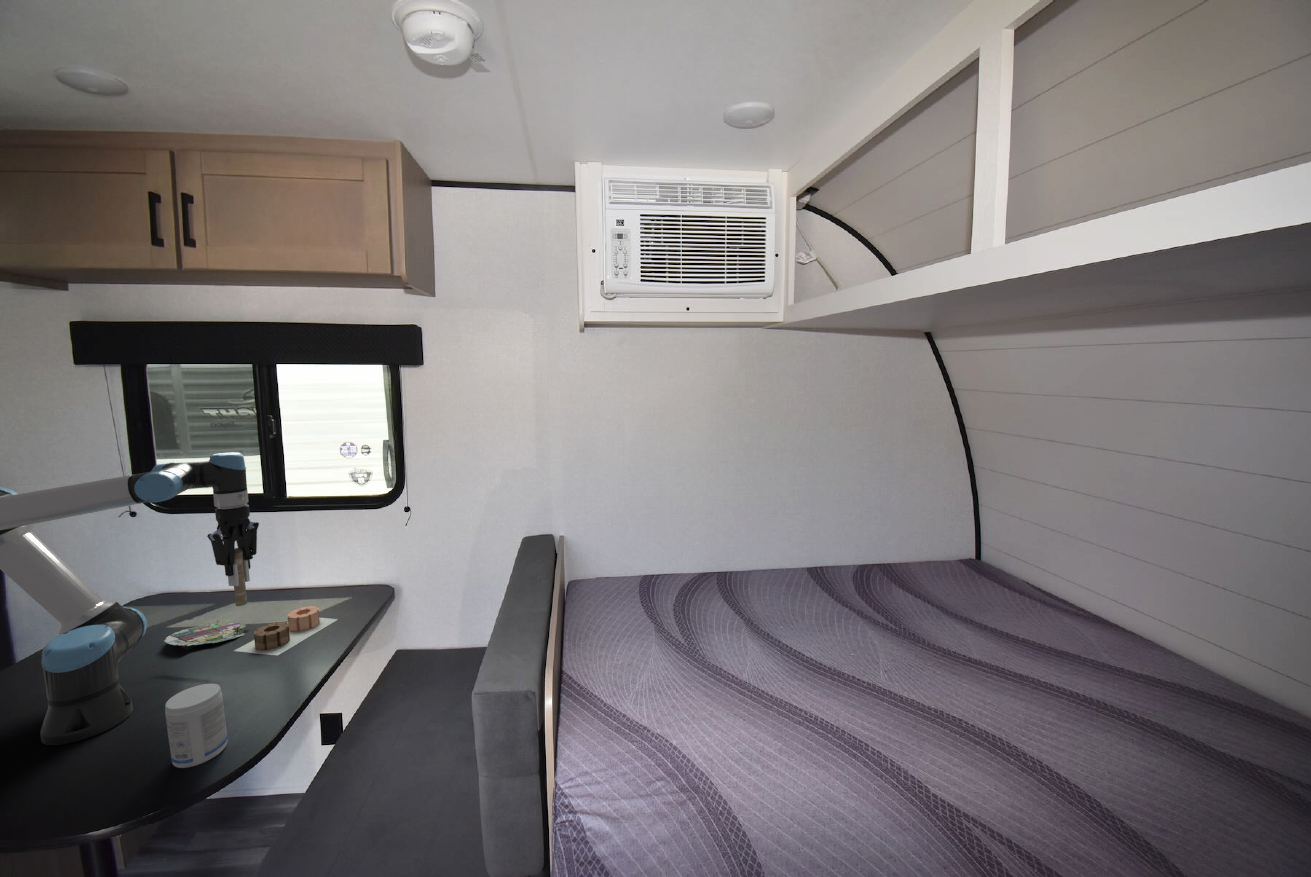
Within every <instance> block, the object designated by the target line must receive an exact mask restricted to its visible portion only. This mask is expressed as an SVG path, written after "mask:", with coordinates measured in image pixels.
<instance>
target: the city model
mask: <svg viewBox="0 0 1311 877" xmlns="http://www.w3.org/2000/svg"><path fill="white" fill-rule="evenodd" d="M218 622H219V620H216V623H208V624H206V625H199V626H195V627H190V628H186V629H180V631H175V632H174V633H172V634H170V635H168V636H166V637H165V639H164V640H163V642H164V643H166V644H169V645H172V646H180V649H181V650H183V649H185V650H184V651H188V650H190V649H193V648H194V646H197V645H204V644H215V643H220V642H224V641H228V640H232V639H237V638H238V637H242V636H243V637H244V635H245V634H246V633H247V632H249V629H250V628H247V626H248V625H249V623H247V624H244V623H243V624H242V623H239V622H238V623H234V622H224V623H223V622H220V623H218Z"/></svg>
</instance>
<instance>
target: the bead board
mask: <svg viewBox="0 0 1311 877" xmlns="http://www.w3.org/2000/svg"><path fill="white" fill-rule="evenodd" d="M319 619H320V624H319V625H317V626H316V627H314V628H309V630H305V631H301V632H300V631H298V632H291V631H289V634H290V641H288V643H286V644H285V645H283V646H281V647H280V646H278V648H275V649H271V650H267V649H266V650H265V651H260V650H256V649H255V640H254V639H253V640H251V641H250V642H248V643H246V644H244V645H242V646H240V647H237V648H236V649H234V650H233V652H239V653H240V652H241V653H246V654H247V653H250V654H259V655H268V656H280V655H281V654H283V653H285V652H286V651H288V650H289V649H291V648H293V647H294V646H296V645H298V644H299V643H301V642H303V641H305V640H307V639H308V638H309V637H311V636H313V635H315V634H316V633H318V632H319V631H321V630H323V629H325V628H326V627H328V626H330V625H331V624H333V623H335V622H337V621H338V620H339V619H338V618H330V617H329V618H327V617H319ZM286 623H288V621H286Z"/></svg>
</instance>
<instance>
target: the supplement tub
mask: <svg viewBox="0 0 1311 877" xmlns="http://www.w3.org/2000/svg"><path fill="white" fill-rule="evenodd" d="M164 707H165V709H164V713H165V721H166V730H167V736H168V744H169V751H170V758H171V763H172V765H173V766H174V767H176V768H178V769H187V768H191V767H196V766H198V765H201V764H204V763H206V762H208V761H210V760H211V759H213V758H215V757H217V756H218V755H220V753H221V752H222V751H223V750H224V749H225V748H226V747H227V744H228V731H227V725H226V716H225V708H224V699H223V693H222V690H221V686H220V685H219V684H217V683H204V684H198V685H195V686H191V687H188V688H185V689H184V690H181V691H179V692H178V693H176V694H174V695H173V696H171V697H169V699H168V700H167V701H166V702H165V705H164Z"/></svg>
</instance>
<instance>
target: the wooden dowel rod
mask: <svg viewBox="0 0 1311 877" xmlns="http://www.w3.org/2000/svg"><path fill="white" fill-rule="evenodd" d="M234 564H237V568H238V578H239V586H233V589H234V601H235V606H236V607H243V606H245V605H247V604H248V598H247V588H246V587H247V586H246V582H245V575H244V564H243V553H242V550H241V549H240V548H238V547H235V551H234Z"/></svg>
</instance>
